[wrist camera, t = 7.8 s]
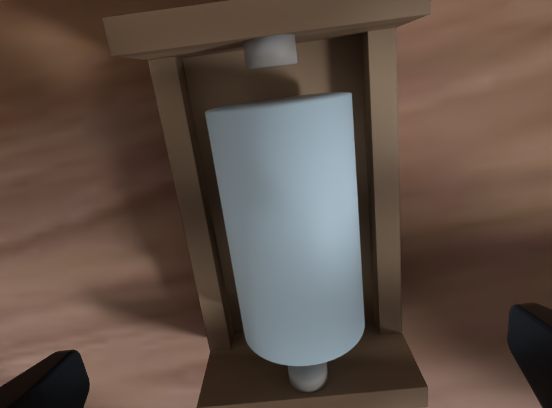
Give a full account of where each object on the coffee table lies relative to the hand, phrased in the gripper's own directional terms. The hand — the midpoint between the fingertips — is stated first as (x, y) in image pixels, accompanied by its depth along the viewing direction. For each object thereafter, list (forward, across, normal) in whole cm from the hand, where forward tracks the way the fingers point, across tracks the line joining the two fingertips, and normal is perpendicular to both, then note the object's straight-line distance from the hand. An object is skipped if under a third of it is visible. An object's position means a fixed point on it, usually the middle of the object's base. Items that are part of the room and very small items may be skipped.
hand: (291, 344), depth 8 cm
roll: (+9, 0, 0) cm, 9 cm away
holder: (+10, 0, 0) cm, 10 cm away
